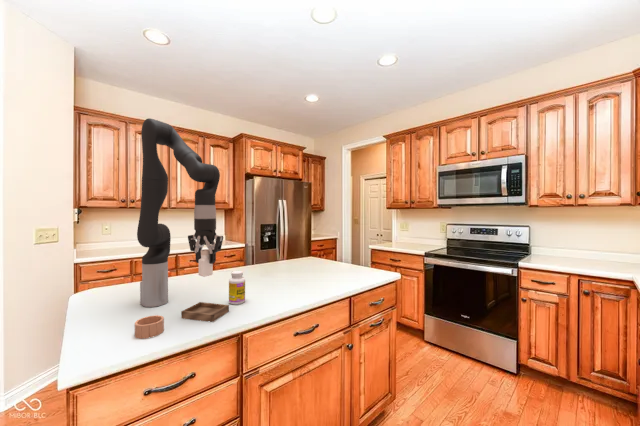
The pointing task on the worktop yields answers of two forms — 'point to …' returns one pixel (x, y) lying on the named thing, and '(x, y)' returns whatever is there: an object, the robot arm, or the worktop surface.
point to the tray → (205, 311)
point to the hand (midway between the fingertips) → (205, 262)
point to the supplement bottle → (236, 288)
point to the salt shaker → (205, 264)
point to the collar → (149, 326)
